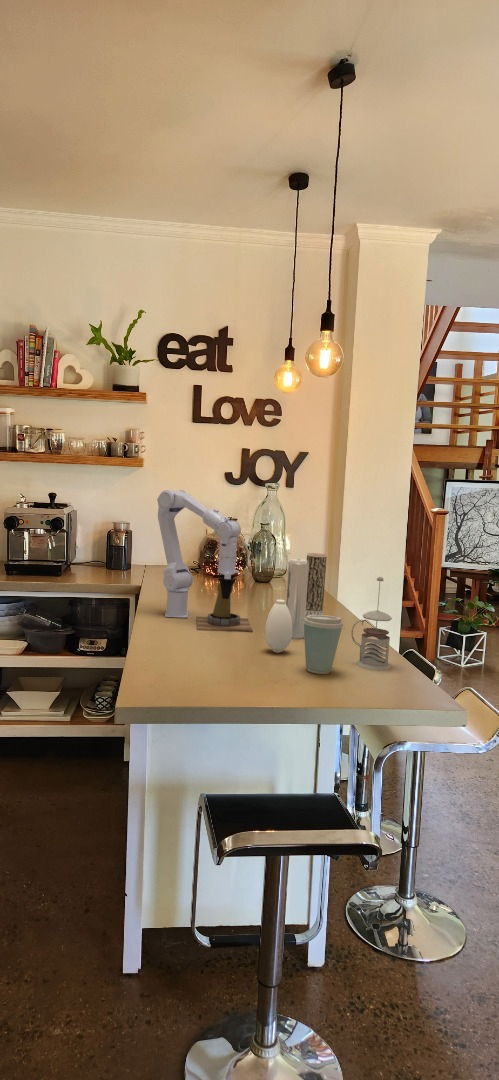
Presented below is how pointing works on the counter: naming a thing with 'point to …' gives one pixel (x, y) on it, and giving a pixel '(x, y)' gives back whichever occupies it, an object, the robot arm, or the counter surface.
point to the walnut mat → (243, 627)
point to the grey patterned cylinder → (315, 583)
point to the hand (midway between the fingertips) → (225, 597)
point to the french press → (374, 641)
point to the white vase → (278, 626)
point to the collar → (224, 620)
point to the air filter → (297, 595)
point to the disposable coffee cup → (321, 641)
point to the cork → (222, 604)
